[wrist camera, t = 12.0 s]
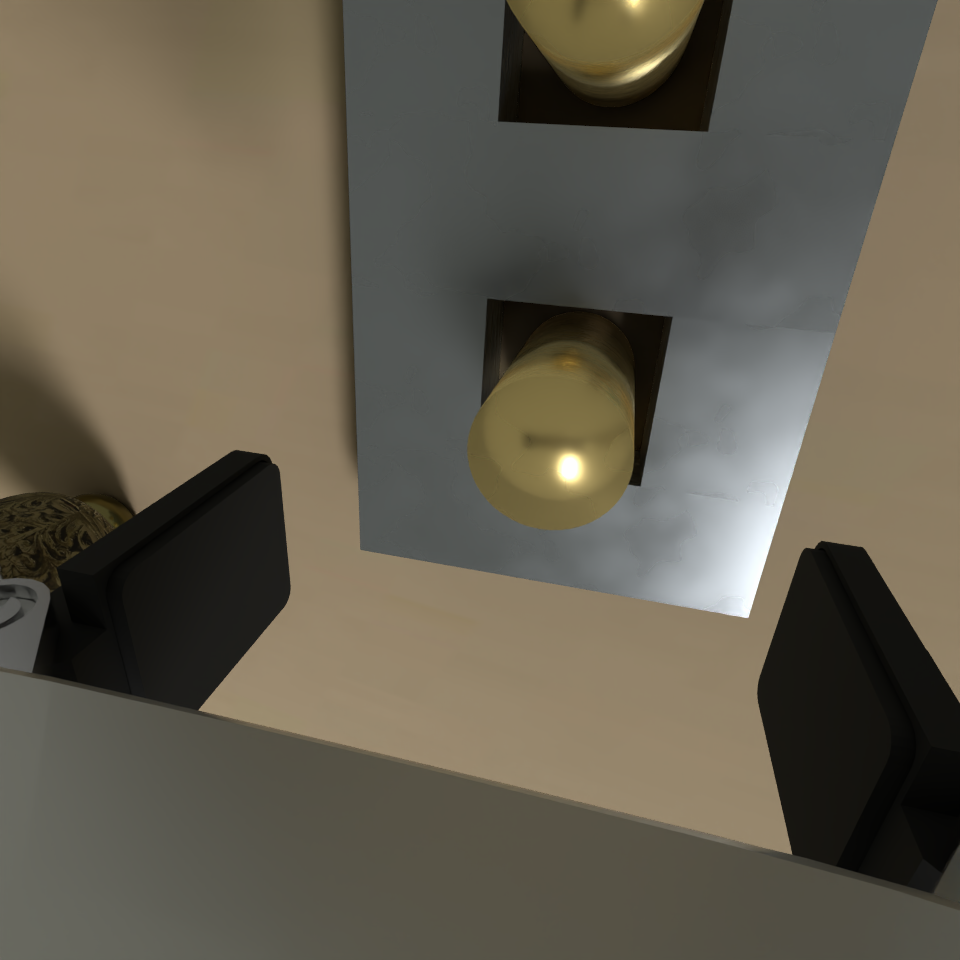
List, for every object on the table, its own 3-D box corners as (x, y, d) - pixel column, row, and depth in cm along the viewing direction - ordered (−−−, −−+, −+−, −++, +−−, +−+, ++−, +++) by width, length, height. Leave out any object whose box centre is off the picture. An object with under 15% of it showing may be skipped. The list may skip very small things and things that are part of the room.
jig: (1001, -367, 13) (1091, -502, 11) (735, 569, 24) (747, 617, 21) (380, -319, 16) (329, -420, 13) (388, 513, 26) (360, 549, 24)
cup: (195, 497, 28) (49, 602, 21) (169, 609, 32) (36, 731, 25) (49, 423, 28) (-145, 502, 21) (38, 543, 32) (-131, 645, 25)
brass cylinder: (644, 317, 21) (647, 386, 14) (625, 429, 23) (619, 542, 16) (525, 306, 22) (470, 366, 14) (516, 415, 23) (463, 516, 16)
